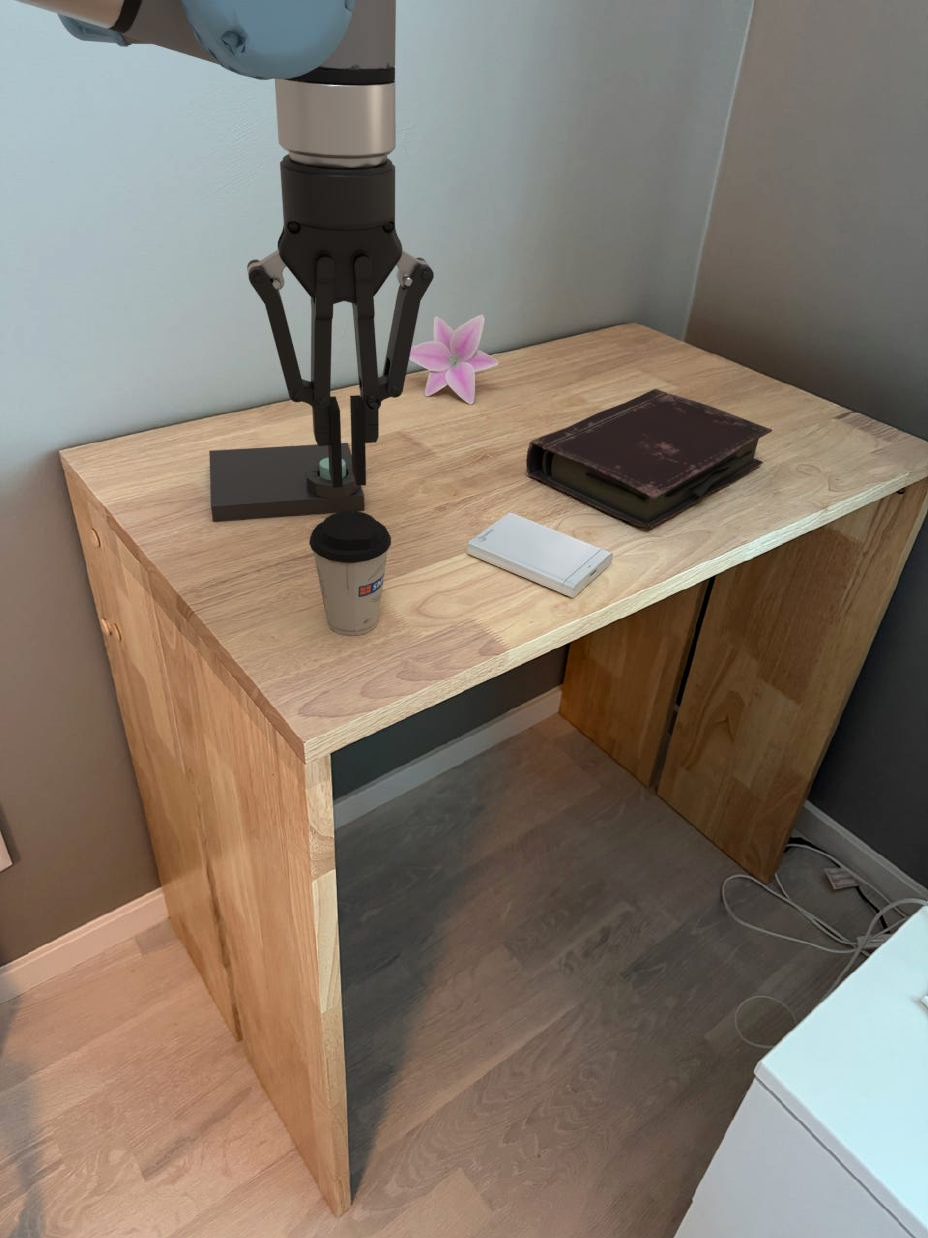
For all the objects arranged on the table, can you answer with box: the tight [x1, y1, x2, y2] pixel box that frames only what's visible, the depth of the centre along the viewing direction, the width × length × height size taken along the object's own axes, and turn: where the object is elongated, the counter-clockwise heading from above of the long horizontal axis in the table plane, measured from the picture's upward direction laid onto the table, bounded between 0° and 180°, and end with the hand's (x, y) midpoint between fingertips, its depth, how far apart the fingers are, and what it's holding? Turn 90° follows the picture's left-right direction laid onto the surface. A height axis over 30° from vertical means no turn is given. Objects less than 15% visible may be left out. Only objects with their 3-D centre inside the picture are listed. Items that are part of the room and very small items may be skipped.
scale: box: [208, 442, 365, 522], centre depth 98 cm, size 16×13×4 cm
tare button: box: [319, 458, 346, 480], centre depth 95 cm, size 3×3×2 cm
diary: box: [525, 388, 773, 528], centre depth 105 cm, size 19×25×5 cm
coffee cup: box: [308, 511, 392, 636], centre depth 77 cm, size 7×7×10 cm
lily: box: [409, 314, 500, 405], centre depth 122 cm, size 12×12×10 cm
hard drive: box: [466, 512, 614, 598], centre depth 89 cm, size 2×8×12 cm
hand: (347, 478), depth 71 cm, fingers closed
